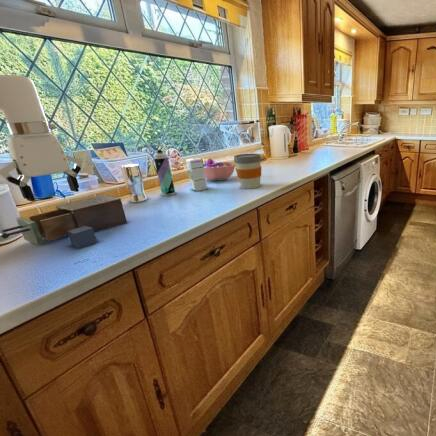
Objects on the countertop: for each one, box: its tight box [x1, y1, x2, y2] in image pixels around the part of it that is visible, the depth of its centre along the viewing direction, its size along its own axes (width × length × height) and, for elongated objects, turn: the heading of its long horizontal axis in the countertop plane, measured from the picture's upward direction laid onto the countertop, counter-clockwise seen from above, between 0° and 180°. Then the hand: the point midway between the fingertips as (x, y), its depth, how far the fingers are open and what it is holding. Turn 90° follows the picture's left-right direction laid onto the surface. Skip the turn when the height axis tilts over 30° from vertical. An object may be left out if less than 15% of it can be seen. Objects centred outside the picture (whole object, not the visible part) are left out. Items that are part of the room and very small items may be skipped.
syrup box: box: [185, 157, 208, 192], centre depth 142 cm, size 6×6×14 cm
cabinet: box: [55, 194, 128, 234], centre depth 99 cm, size 14×12×9 cm
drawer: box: [0, 209, 77, 247], centre depth 88 cm, size 18×10×7 cm, turn 151°
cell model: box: [203, 158, 236, 181], centre depth 161 cm, size 17×20×11 cm
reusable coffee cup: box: [233, 153, 262, 190], centre depth 144 cm, size 13×13×15 cm
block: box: [67, 226, 98, 249], centre depth 86 cm, size 4×4×4 cm
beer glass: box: [120, 163, 148, 203], centre depth 127 cm, size 7×7×15 cm
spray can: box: [153, 149, 176, 197], centre depth 135 cm, size 6×6×20 cm
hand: (54, 195), depth 81 cm, fingers open, 9 cm apart
